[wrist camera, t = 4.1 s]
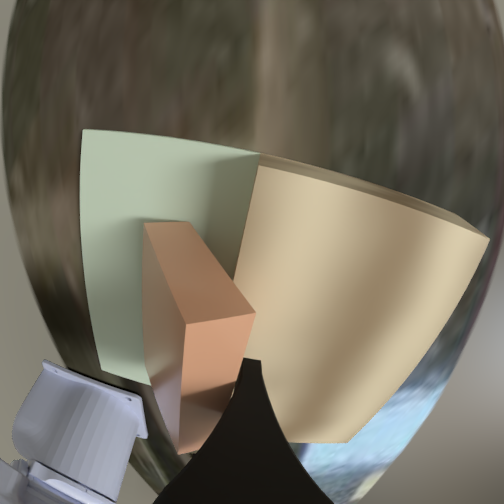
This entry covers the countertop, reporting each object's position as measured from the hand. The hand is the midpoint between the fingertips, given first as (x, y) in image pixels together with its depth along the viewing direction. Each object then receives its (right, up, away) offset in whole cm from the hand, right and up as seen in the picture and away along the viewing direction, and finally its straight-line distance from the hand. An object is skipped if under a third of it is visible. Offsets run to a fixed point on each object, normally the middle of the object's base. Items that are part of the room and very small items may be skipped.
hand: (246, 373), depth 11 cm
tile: (-2, +1, +1) cm, 2 cm away
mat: (-5, +3, +3) cm, 7 cm away
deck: (+4, +1, +4) cm, 5 cm away
